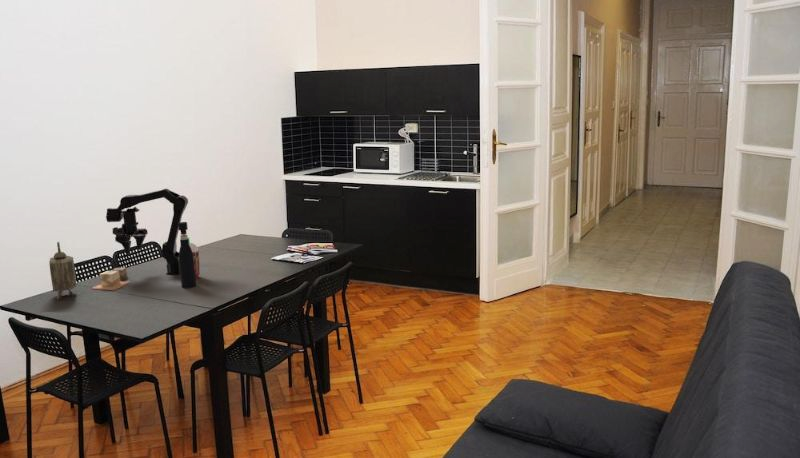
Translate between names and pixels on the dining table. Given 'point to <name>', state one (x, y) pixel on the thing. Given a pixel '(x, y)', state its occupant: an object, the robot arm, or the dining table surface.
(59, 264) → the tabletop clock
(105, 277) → the maple block
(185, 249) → the wine bottle
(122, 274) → the walnut block
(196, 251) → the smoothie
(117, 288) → the terracotta tile
